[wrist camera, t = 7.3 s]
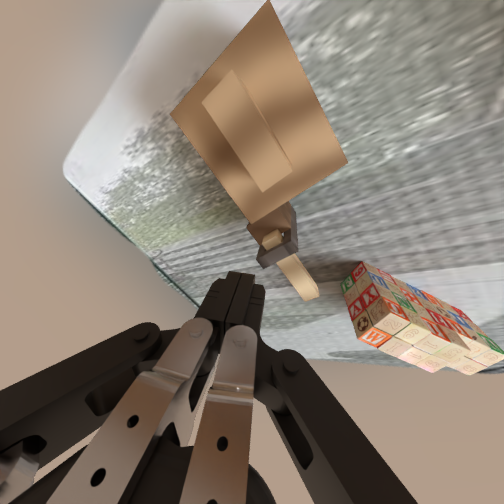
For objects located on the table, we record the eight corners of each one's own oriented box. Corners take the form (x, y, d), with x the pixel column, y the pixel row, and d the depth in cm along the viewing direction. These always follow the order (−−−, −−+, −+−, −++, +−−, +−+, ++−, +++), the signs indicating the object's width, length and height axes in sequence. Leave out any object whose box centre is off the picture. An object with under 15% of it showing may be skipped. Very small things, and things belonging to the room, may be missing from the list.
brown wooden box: (345, 182, 29) (378, 210, 18) (272, 226, 34) (263, 268, 23) (276, 46, 23) (263, -35, 12) (200, 124, 28) (144, 117, 17)
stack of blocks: (462, 309, 36) (532, 379, 26) (432, 328, 40) (484, 398, 29) (360, 260, 35) (391, 313, 24) (338, 284, 38) (357, 340, 28)
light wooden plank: (317, 286, 27) (319, 296, 25) (304, 291, 28) (305, 301, 26) (277, 228, 24) (276, 235, 22) (263, 236, 25) (261, 243, 23)
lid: (342, 160, 22) (364, 169, 15) (254, 217, 27) (242, 242, 20) (271, 15, 17) (260, -57, 11) (181, 116, 22) (137, 107, 16)
